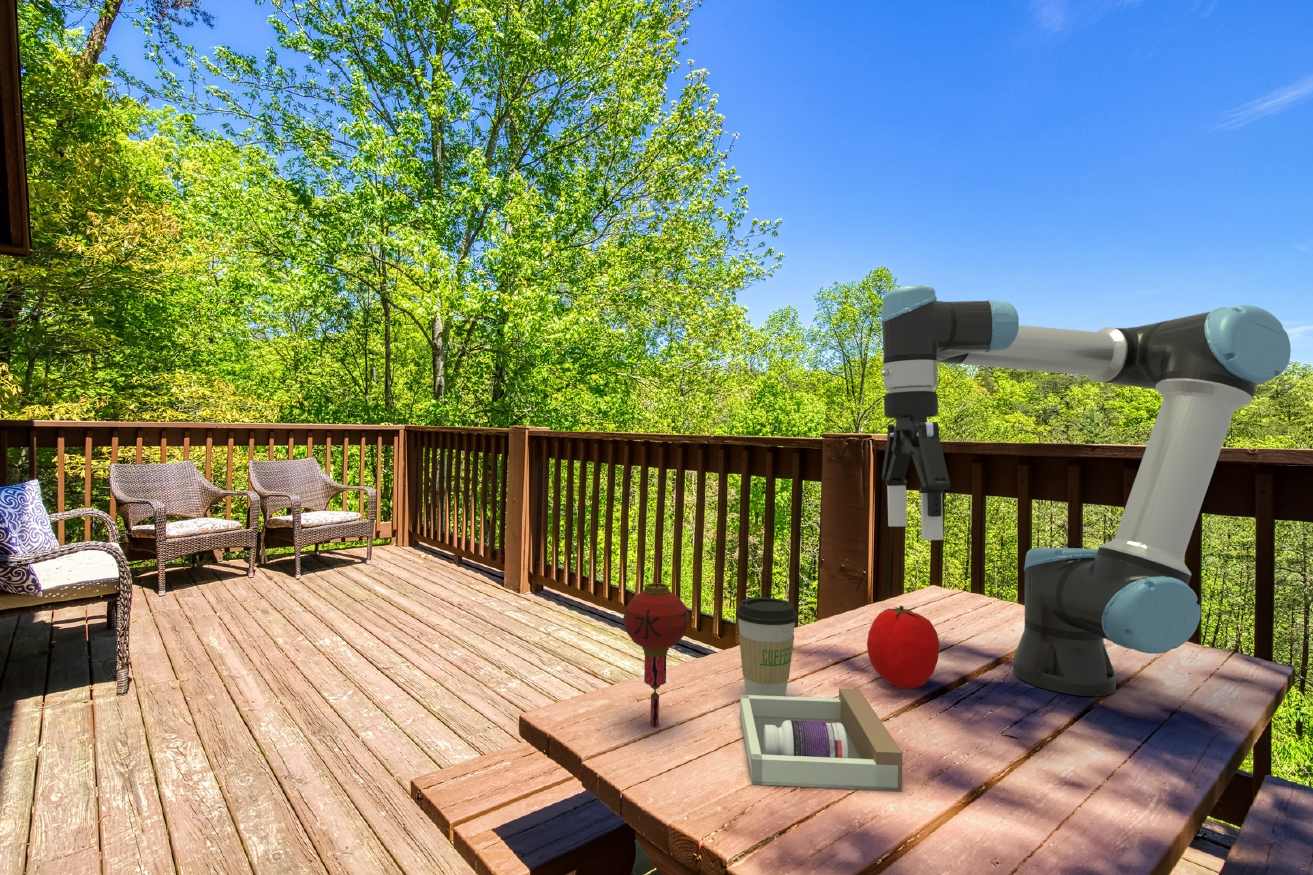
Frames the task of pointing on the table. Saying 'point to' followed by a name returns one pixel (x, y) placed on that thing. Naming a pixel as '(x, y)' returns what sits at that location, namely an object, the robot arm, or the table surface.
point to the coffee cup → (766, 644)
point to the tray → (865, 768)
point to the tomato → (903, 647)
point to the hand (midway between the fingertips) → (913, 532)
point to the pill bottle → (806, 739)
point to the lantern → (655, 630)
